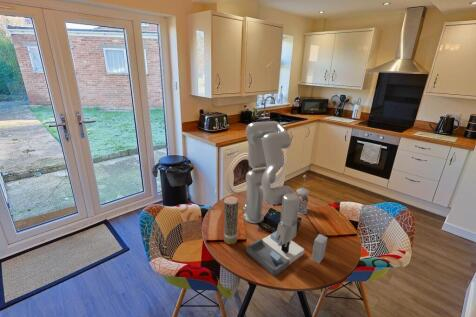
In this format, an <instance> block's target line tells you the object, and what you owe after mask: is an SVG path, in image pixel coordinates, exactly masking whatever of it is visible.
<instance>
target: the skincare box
mask: <svg viewBox="0 0 476 317" xmlns="http://www.w3.org/2000/svg"><path fill="white" fill-rule="evenodd" d="M327 244H328V237H327V236H325V235H323V234H321V233H319V234H317V236H316V238H315V239H314V241H313V246H312V253H311V261H313V262H315V263H318V264H321V262H322V261H323V259H324V257H325V253H326V247H327Z"/></svg>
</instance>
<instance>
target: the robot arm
mask: <svg viewBox="0 0 476 317" xmlns="http://www.w3.org/2000/svg"><path fill="white" fill-rule="evenodd" d="M245 136H246V140H247V142H248V143H247V144H248V148H247V149H248V152H247V153H248V166H249V167H250V168H252V169H251V170H249V171H248V172H246V174H245V181H246V204H245V205H244V207H242V209H243V210H244V213H243V216H242V217H243V220H244V221H245V222H247V223H250V224H259V223H261V222H264V218H265V216H264V214H263V201H265V202H266V204H267V205H269V206H271V205H272V206H273V205H278V204H281V208H280V218H279V222H278V225H277V228H276V231H277V233H276V240H279V241H278V245H279V246H282V248H281V250H282V251H283V252H285V253H288V252H289V245H290V243H291V240H292V241H293V240H294V239H295V238H296V236H297V232H298V231H297V230H298V217H299V214H298V210H299V203H300V201H301V200H300V198H299V196H298V195H299V194H297V193H296V192H294V190H293V188H292V187H291V186H289V185H282V186H276V187H275V186H274V187H272V186H271V184H273V183H275V182H276V178H277V170H279V169H281V168H282V167H283V166H284V165H285V160H284V155H283V150H284V149H289V148H290V147H291V145H292V138H291V135H290V134H289V132H288V131H287V130H286V129H285V128H284V127H283V125H282V124H281V123H280V122H278V121H276V120H270V121H269V120H268V121H267V120H266V121H256V122H255V121H254V122H251V123H248V124H247V126H246V129H245ZM282 149H283V150H282ZM296 194H297V195H296Z"/></svg>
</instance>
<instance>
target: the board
mask: <svg viewBox="0 0 476 317" xmlns="http://www.w3.org/2000/svg"><path fill="white" fill-rule="evenodd" d="M270 237H271V234H269V235H267V236H266V237H264V238H261V239H262V245H264V246H265V247H266V248H268V249H269V250H270V251H271V252H272V251H274V252H276V253H277V254H278V255H280V256H281V258H282V260H283V261H286V260H287V259H289V260H290V261H289V265H291V264H292V263H294V262H295V261H296V260H298V259H299V258H301V257H302V256H303V255H304V253H305V248H304V247H302V246H300V244H298V243H297V242H295V241H293V239H292V240H291V243H290V245H289V252H288V253H285V252H283V251H282V250H281V248H282V246H279V245H278V243H276V242H275V241H274V240H272V239H271V238H270Z"/></svg>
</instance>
